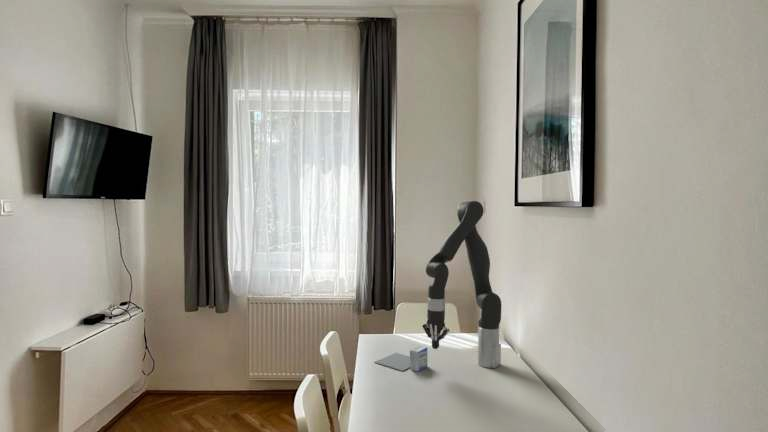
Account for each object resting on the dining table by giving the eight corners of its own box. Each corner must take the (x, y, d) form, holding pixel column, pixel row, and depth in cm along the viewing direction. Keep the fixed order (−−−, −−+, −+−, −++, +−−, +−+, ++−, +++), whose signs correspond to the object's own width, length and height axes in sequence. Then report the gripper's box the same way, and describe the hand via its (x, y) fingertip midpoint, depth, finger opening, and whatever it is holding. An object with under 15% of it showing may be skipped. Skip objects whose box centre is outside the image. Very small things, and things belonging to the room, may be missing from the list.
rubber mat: (423, 361, 190) (423, 360, 190) (402, 371, 178) (402, 370, 178) (396, 353, 201) (396, 352, 201) (374, 362, 188) (374, 361, 188)
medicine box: (418, 372, 178) (418, 352, 178) (409, 369, 181) (409, 350, 181) (427, 366, 184) (427, 347, 184) (419, 364, 187) (419, 345, 187)
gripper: (454, 309, 175) (453, 349, 175) (428, 304, 184) (427, 343, 184) (444, 312, 169) (443, 354, 170) (418, 307, 178) (417, 347, 178)
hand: (435, 348), depth 177 cm, fingers closed
